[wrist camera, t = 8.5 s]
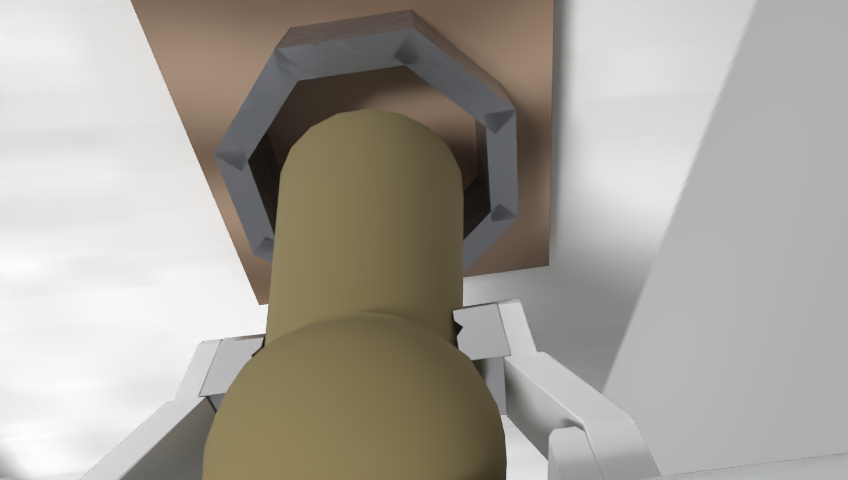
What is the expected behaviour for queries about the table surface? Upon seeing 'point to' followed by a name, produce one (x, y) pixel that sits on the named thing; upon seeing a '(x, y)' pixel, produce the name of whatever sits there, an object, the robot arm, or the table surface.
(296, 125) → the walnut base
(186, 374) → the robot arm
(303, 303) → the cork
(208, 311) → the table surface
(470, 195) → the metal collar
